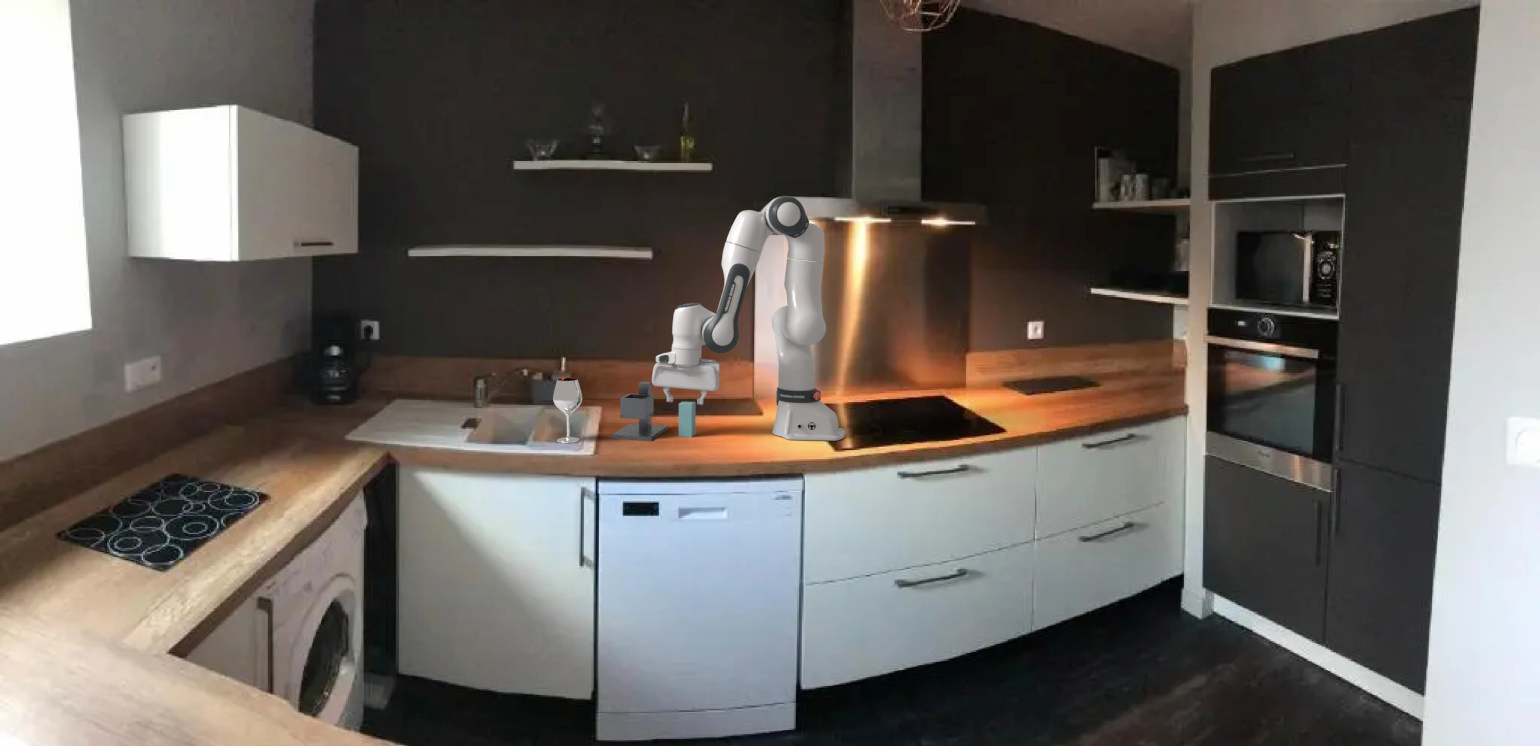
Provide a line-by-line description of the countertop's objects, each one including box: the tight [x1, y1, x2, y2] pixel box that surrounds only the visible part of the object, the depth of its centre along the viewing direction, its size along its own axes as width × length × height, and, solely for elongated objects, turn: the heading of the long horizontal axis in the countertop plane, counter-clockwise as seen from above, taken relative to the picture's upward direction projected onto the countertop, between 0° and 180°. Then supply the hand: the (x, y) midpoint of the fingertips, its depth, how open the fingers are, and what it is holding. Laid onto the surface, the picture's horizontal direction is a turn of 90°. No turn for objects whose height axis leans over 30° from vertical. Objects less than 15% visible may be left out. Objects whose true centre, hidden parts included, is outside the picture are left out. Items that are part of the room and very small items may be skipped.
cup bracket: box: [611, 381, 669, 442], centre depth 259 cm, size 12×16×15 cm
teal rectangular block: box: [678, 400, 697, 438], centre depth 259 cm, size 4×4×10 cm
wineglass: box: [552, 377, 583, 444], centre depth 249 cm, size 8×8×18 cm
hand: (684, 403), depth 258 cm, fingers open, 8 cm apart
